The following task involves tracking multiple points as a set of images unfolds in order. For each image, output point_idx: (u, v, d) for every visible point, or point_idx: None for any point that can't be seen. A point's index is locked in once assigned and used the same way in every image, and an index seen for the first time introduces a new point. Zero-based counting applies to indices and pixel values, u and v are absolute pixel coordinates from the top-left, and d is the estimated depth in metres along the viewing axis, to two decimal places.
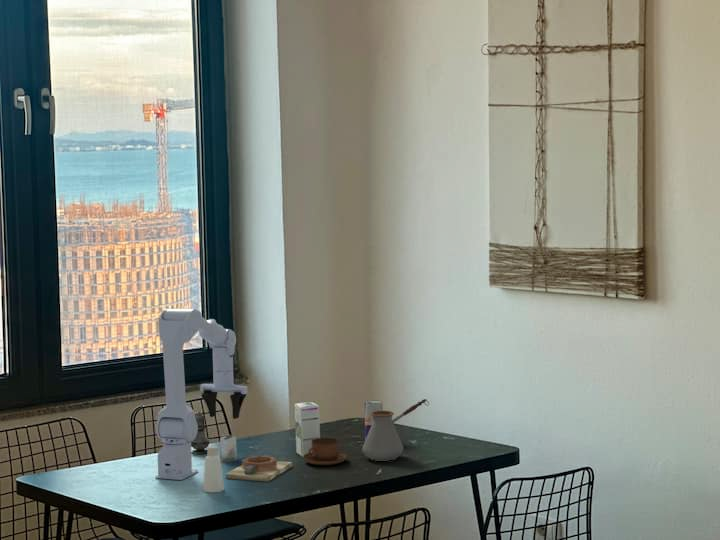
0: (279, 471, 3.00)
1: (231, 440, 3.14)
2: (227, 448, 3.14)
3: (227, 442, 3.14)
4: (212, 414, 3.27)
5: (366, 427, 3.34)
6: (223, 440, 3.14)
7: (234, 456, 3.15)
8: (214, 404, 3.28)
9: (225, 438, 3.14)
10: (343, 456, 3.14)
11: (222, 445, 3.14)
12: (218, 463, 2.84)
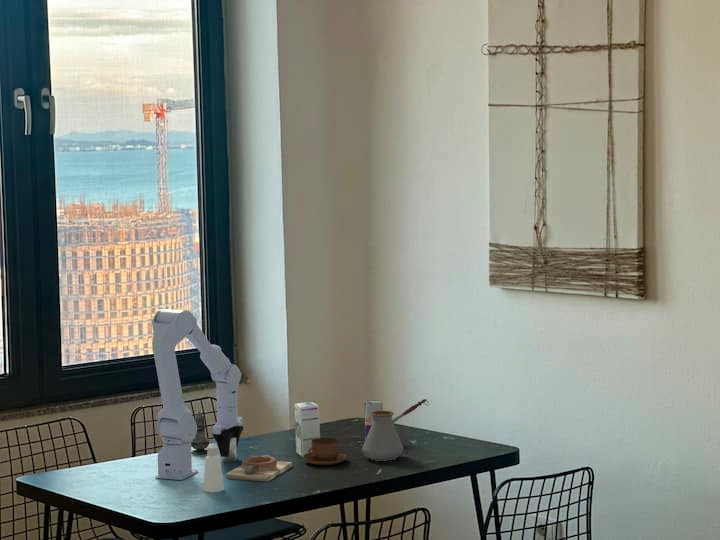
0: (279, 471, 3.00)
1: (231, 440, 3.14)
2: None
3: None
4: None
5: (366, 427, 3.34)
6: None
7: (234, 456, 3.15)
8: None
9: None
10: (343, 456, 3.14)
11: None
12: (218, 463, 2.84)
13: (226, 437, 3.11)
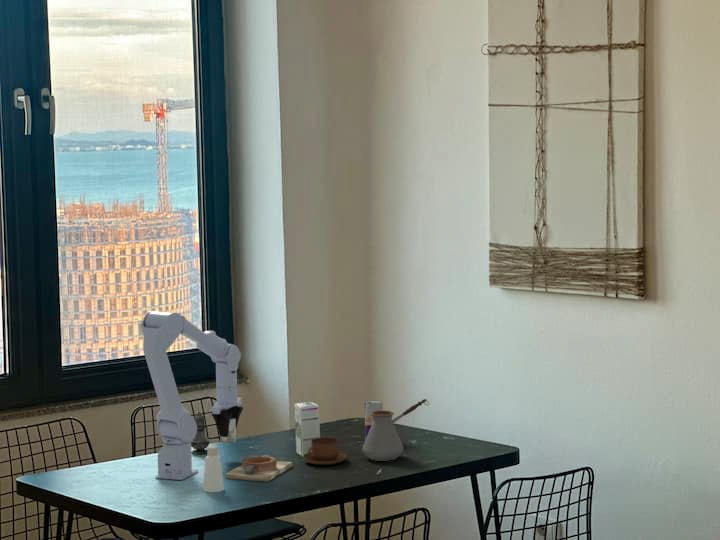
0: (279, 471, 3.00)
1: (230, 421, 3.13)
2: None
3: None
4: None
5: (366, 427, 3.34)
6: None
7: (233, 437, 3.14)
8: None
9: None
10: (343, 456, 3.14)
11: None
12: (218, 463, 2.84)
13: (225, 417, 3.10)
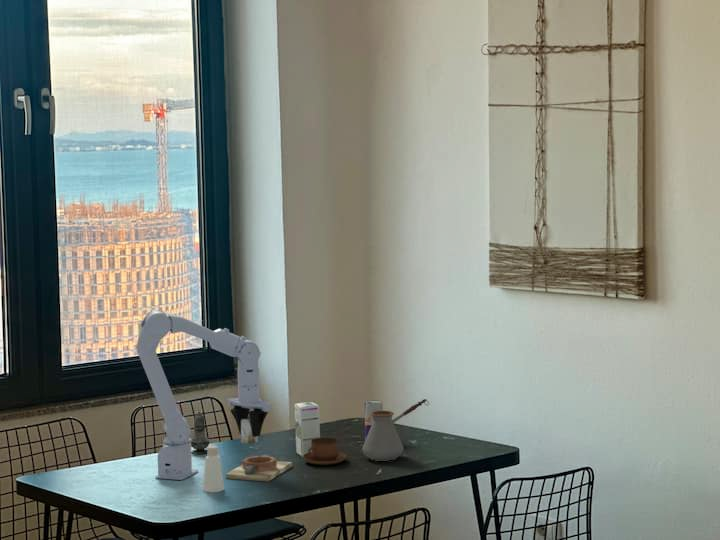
0: (279, 471, 3.00)
1: None
2: None
3: None
4: None
5: (366, 427, 3.34)
6: None
7: None
8: None
9: None
10: (343, 456, 3.14)
11: (251, 426, 3.03)
12: (218, 463, 2.84)
13: (265, 414, 3.03)
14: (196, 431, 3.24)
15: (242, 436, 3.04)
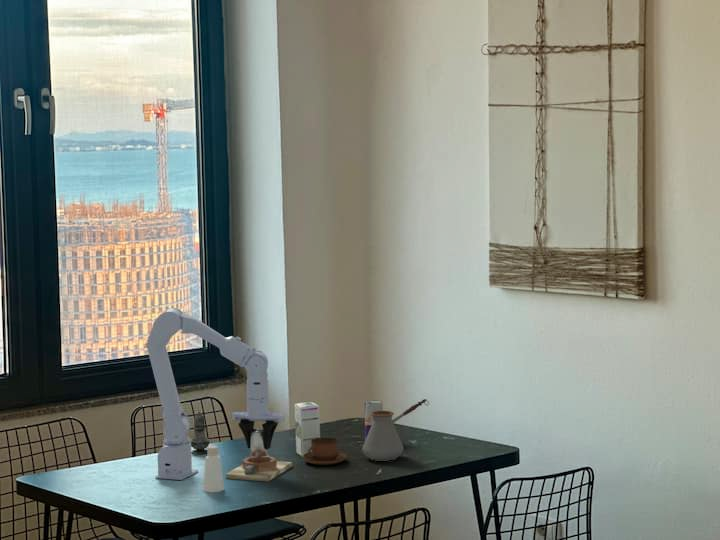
0: (279, 471, 3.00)
1: None
2: None
3: None
4: None
5: (366, 427, 3.34)
6: None
7: None
8: None
9: None
10: (342, 456, 3.14)
11: (263, 439, 3.00)
12: (218, 463, 2.84)
13: (276, 425, 3.01)
14: (196, 431, 3.24)
15: (253, 450, 3.00)
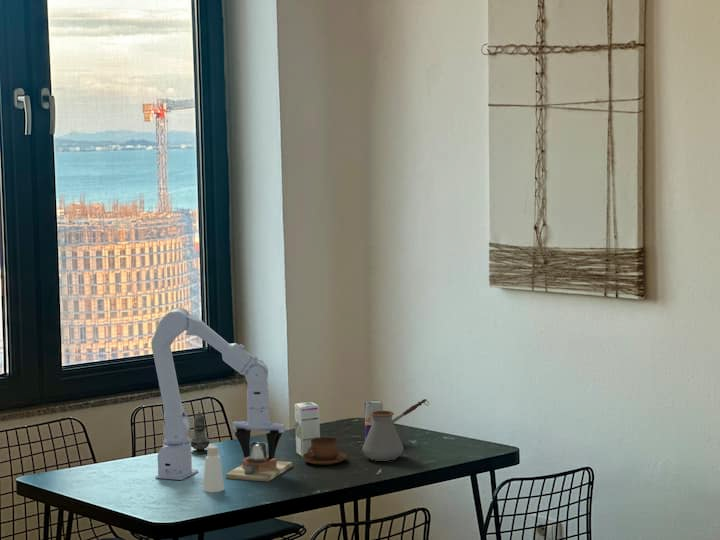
0: (279, 471, 3.00)
1: None
2: (266, 453, 3.01)
3: None
4: (246, 454, 3.02)
5: (366, 427, 3.34)
6: (264, 446, 3.00)
7: None
8: (248, 443, 3.03)
9: (265, 444, 3.01)
10: (342, 455, 3.14)
11: (263, 452, 3.00)
12: (218, 463, 2.84)
13: (280, 435, 3.01)
14: (196, 431, 3.24)
15: None
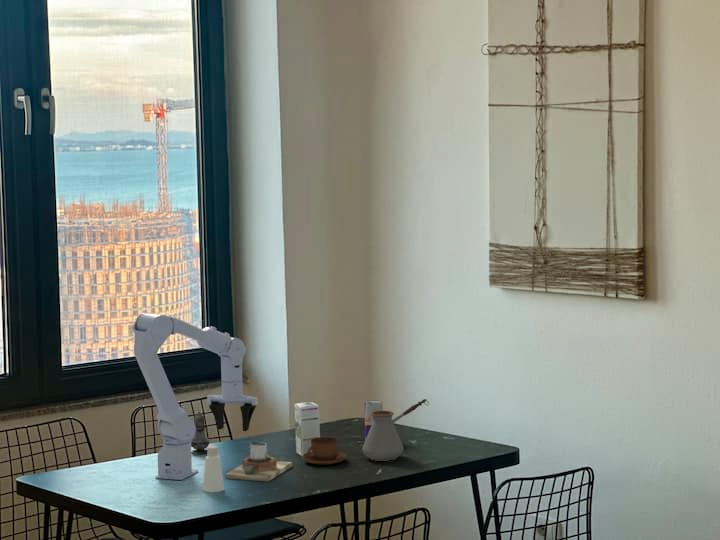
0: (279, 471, 3.00)
1: None
2: (266, 453, 3.01)
3: (266, 447, 3.01)
4: (220, 426, 3.12)
5: (366, 427, 3.34)
6: (264, 446, 3.00)
7: None
8: (222, 416, 3.14)
9: (264, 444, 3.00)
10: (342, 455, 3.14)
11: (263, 452, 3.00)
12: (218, 463, 2.84)
13: (254, 408, 3.11)
14: (196, 431, 3.24)
15: None
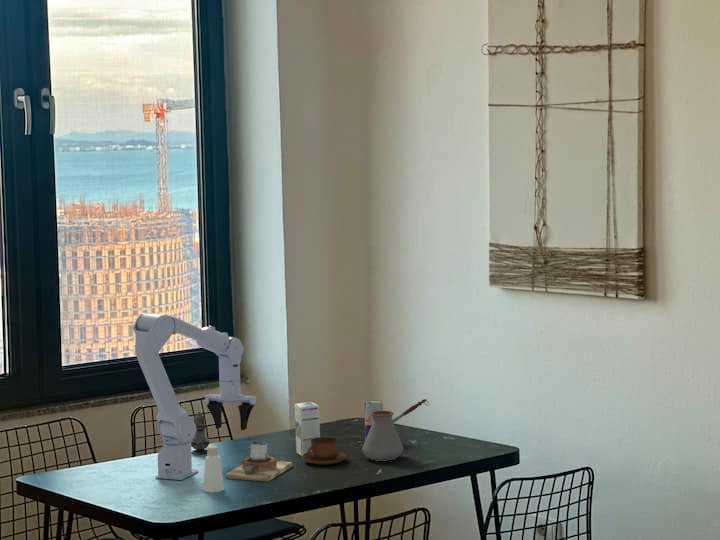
0: (279, 471, 3.00)
1: None
2: None
3: None
4: (218, 426, 3.13)
5: (366, 427, 3.34)
6: (264, 446, 3.00)
7: None
8: (220, 415, 3.15)
9: (265, 443, 3.01)
10: (342, 455, 3.14)
11: (263, 452, 3.00)
12: (218, 463, 2.84)
13: (252, 407, 3.12)
14: (196, 431, 3.24)
15: (254, 462, 3.00)
